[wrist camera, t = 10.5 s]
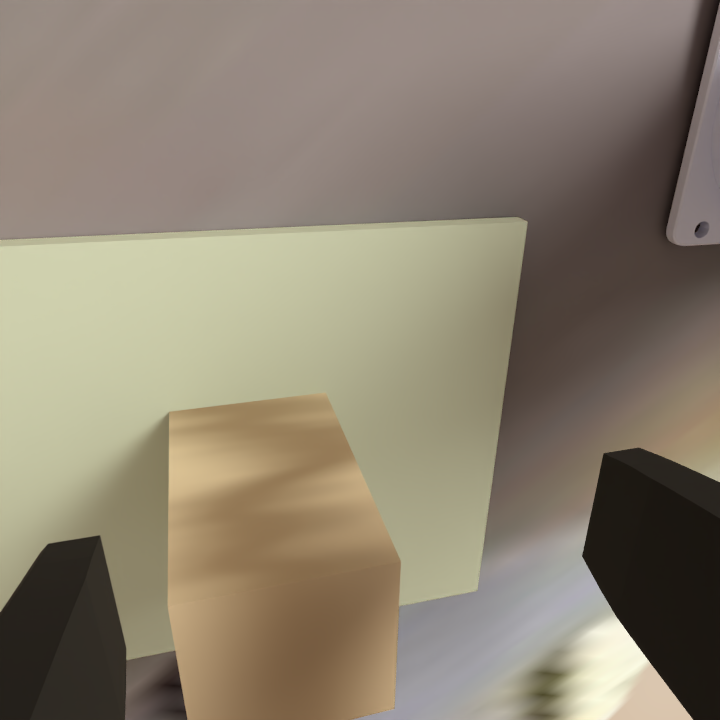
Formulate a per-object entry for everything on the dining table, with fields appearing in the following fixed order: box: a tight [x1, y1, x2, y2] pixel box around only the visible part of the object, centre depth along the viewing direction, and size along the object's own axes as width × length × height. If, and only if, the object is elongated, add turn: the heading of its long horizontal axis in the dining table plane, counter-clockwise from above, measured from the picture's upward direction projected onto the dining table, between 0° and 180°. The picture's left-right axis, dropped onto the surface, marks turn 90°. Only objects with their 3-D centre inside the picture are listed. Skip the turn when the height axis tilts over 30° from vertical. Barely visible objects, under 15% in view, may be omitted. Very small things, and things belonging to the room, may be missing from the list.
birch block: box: [168, 393, 401, 720], centre depth 16 cm, size 4×4×7 cm
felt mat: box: [0, 217, 528, 660], centre depth 19 cm, size 16×14×1 cm
